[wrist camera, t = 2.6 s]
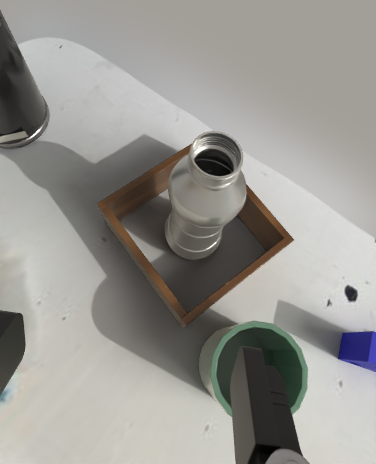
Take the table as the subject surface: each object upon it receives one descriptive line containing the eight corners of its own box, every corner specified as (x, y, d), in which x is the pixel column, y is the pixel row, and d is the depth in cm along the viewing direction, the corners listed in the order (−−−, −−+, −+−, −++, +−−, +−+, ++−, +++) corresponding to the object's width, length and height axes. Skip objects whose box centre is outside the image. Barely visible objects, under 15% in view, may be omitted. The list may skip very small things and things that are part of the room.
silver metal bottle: (187, 202, 44) (207, 96, 25) (229, 236, 43) (283, 152, 24) (153, 239, 42) (146, 155, 23) (196, 275, 41) (226, 218, 22)
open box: (105, 222, 42) (96, 203, 36) (199, 161, 46) (204, 135, 40) (182, 327, 39) (186, 325, 33) (276, 253, 43) (294, 239, 37)
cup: (183, 357, 38) (191, 362, 29) (239, 311, 40) (264, 302, 31) (230, 422, 36) (254, 451, 27) (286, 371, 38) (327, 381, 29)
